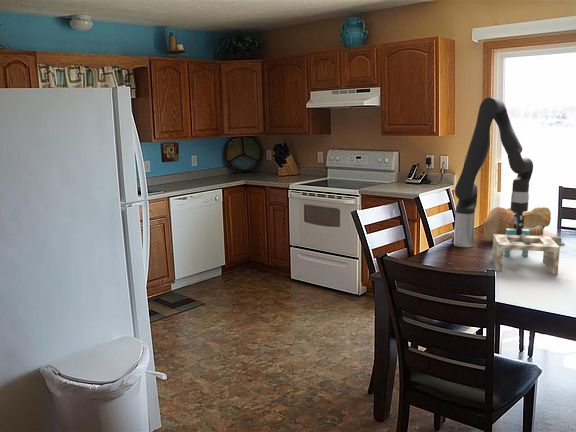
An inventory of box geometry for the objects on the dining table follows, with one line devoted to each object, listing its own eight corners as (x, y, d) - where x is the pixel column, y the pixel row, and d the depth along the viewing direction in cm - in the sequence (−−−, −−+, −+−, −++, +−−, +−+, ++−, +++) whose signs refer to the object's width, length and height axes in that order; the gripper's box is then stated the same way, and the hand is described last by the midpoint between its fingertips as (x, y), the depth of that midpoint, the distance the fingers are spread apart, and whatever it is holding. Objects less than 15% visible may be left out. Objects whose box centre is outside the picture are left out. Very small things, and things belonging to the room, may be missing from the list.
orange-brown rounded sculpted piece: (473, 216, 299) (526, 221, 302) (477, 248, 291) (532, 253, 294) (489, 199, 282) (546, 204, 284) (494, 233, 273) (552, 238, 276)
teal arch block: (505, 255, 265) (507, 230, 262) (504, 253, 268) (505, 228, 266) (527, 256, 262) (529, 230, 260) (526, 254, 266) (528, 229, 264)
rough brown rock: (549, 231, 317) (550, 205, 316) (550, 235, 302) (551, 208, 301) (506, 229, 326) (507, 204, 325) (504, 233, 311) (505, 206, 310)
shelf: (497, 271, 239) (499, 241, 237) (491, 259, 259) (493, 231, 256) (557, 274, 234) (560, 244, 231) (547, 262, 253) (549, 233, 250)
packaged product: (566, 237, 282) (546, 237, 282) (565, 246, 283) (545, 246, 282) (548, 229, 299) (530, 229, 299) (547, 238, 300) (529, 238, 300)
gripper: (508, 198, 268) (506, 231, 271) (513, 203, 254) (511, 237, 257) (525, 198, 266) (523, 231, 269) (531, 203, 253) (528, 238, 256)
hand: (517, 234), depth 263 cm, fingers open, 8 cm apart
